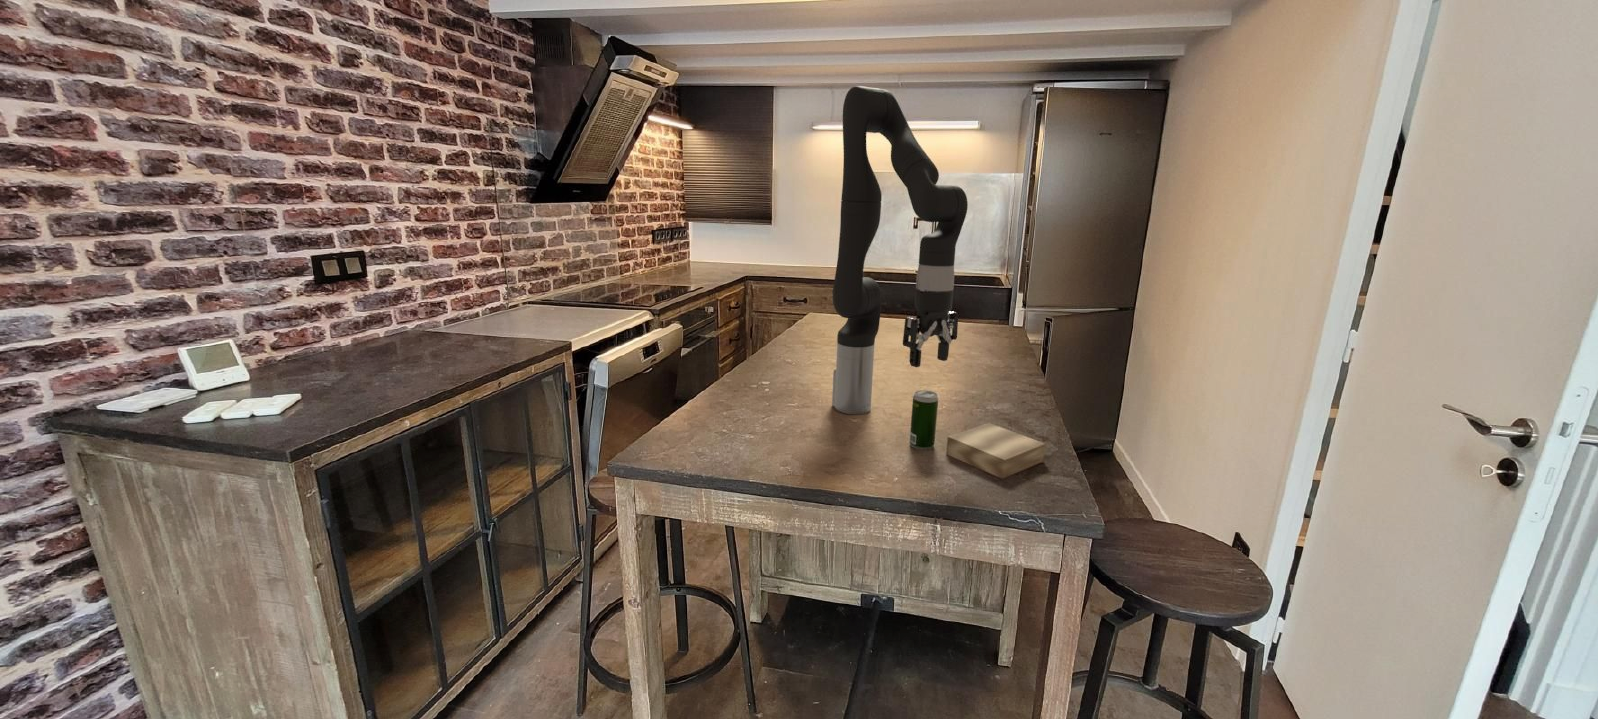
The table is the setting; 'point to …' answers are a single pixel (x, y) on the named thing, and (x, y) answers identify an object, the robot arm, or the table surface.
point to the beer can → (923, 419)
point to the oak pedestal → (995, 450)
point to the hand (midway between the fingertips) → (928, 363)
